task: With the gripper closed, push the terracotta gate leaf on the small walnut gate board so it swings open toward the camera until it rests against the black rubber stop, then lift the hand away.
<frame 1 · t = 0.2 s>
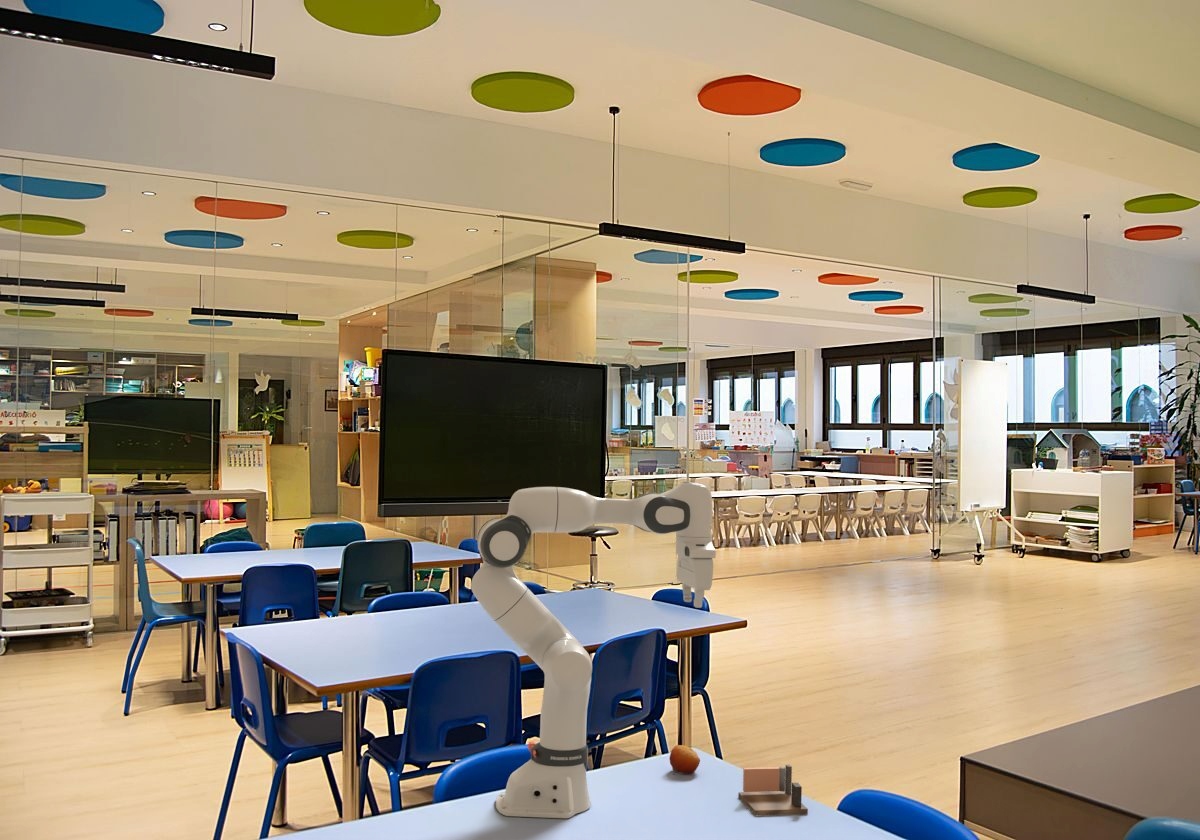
hand: (692, 604, 236), 47 cm above the table, tool pointing down, fingers open, 8 cm apart
fruit: (684, 773, 255), on the table
gate: (764, 779, 236), point 5 cm above the table, hinge at 0.0°
gate frame: (772, 805, 232), on the table
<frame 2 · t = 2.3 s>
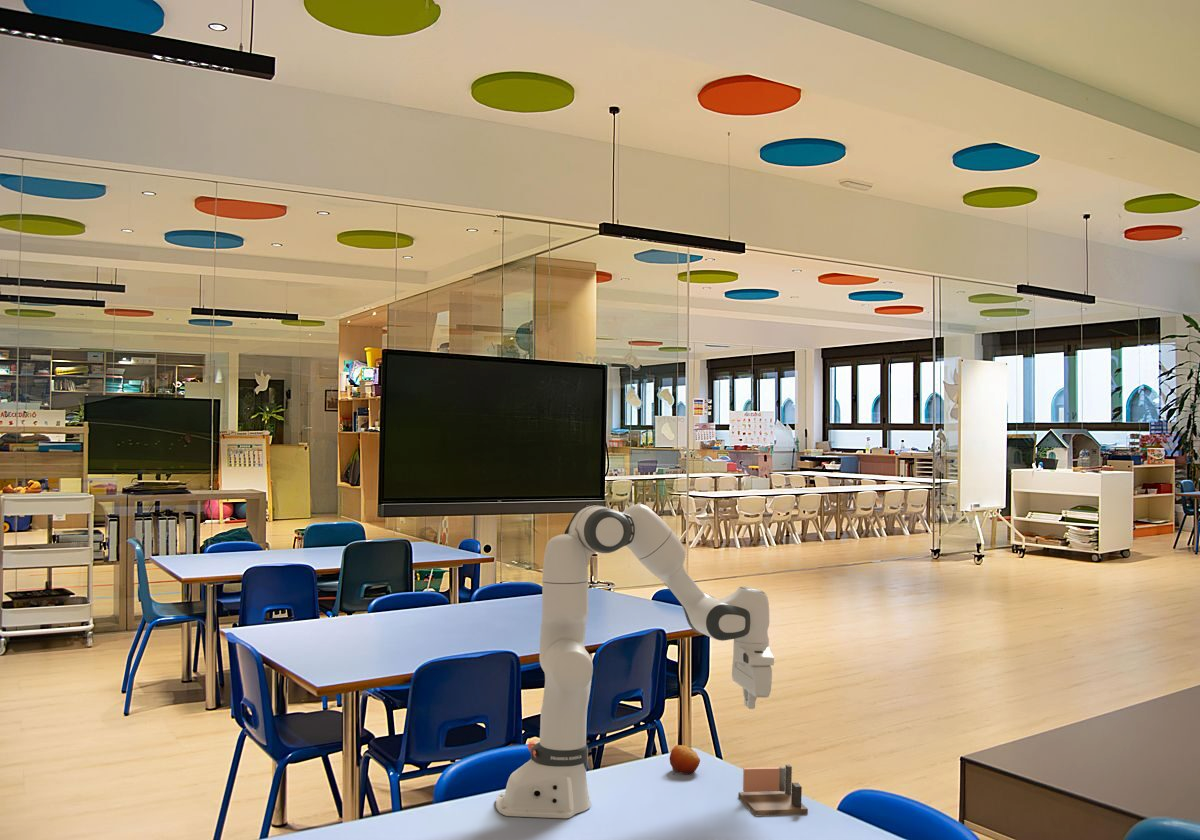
hand: (749, 707, 242), 21 cm above the table, tool pointing down, fingers closed
nothing on the table moved.
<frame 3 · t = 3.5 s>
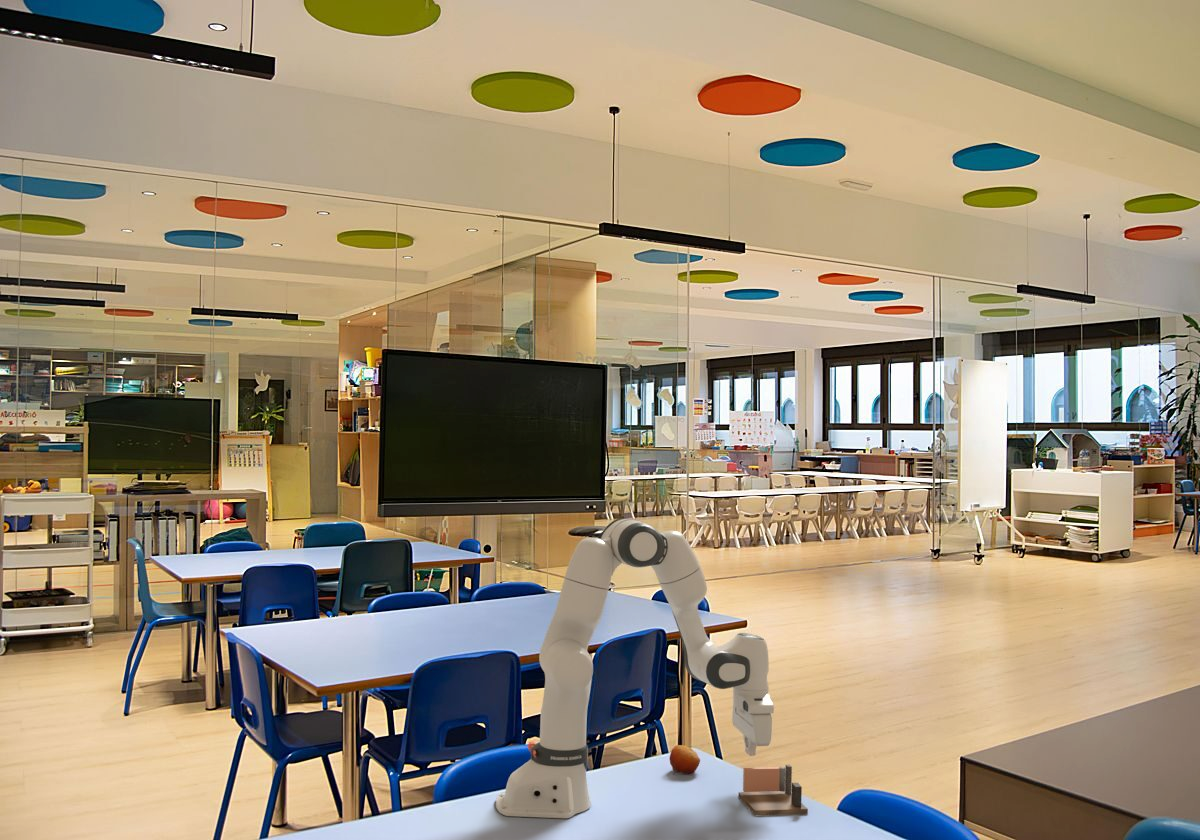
hand: (750, 754, 241), 9 cm above the table, tool pointing down, fingers closed
nothing on the table moved.
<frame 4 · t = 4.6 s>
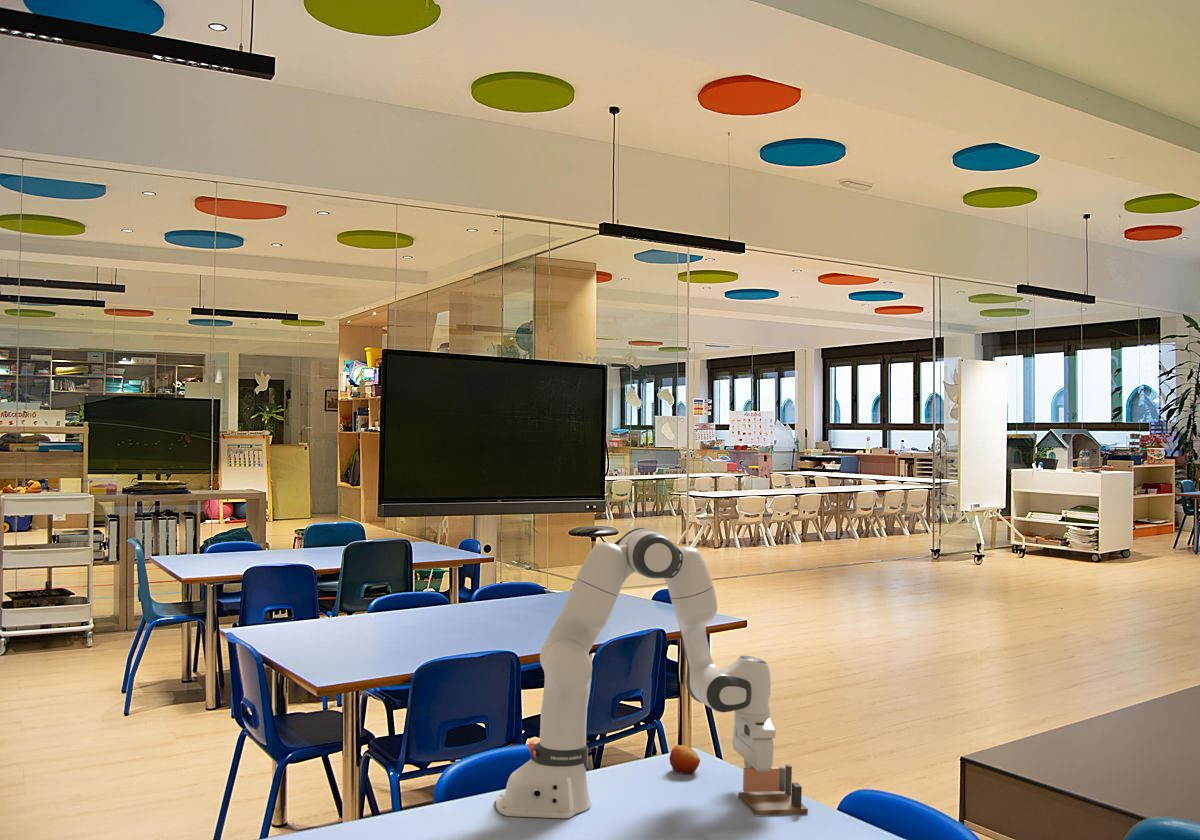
hand: (750, 778, 239), 4 cm above the table, tool pointing down, fingers closed
gate: (764, 779, 236), point 5 cm above the table, hinge at 0.0°, touching gripper
everything else where it was.
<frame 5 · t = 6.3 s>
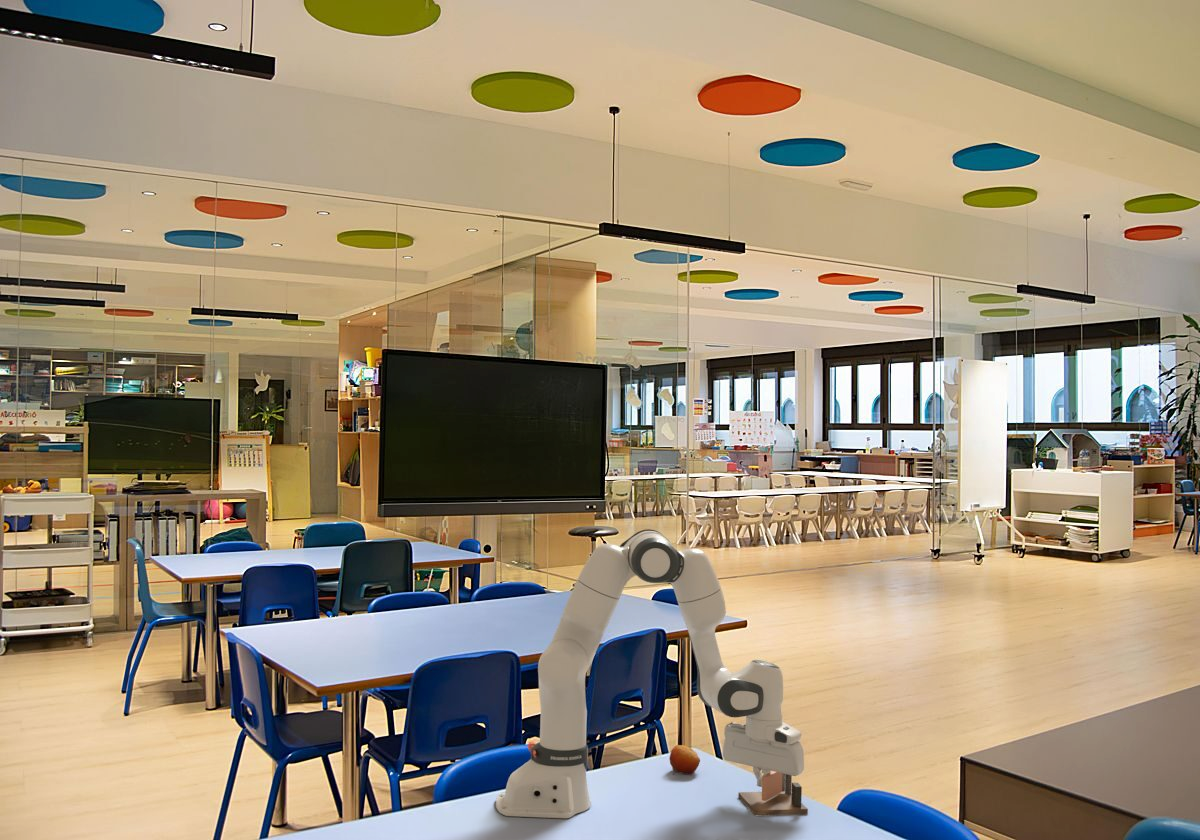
hand: (761, 786, 233), 4 cm above the table, tool pointing down, fingers closed
gate: (773, 783, 234), point 5 cm above the table, hinge at 44.0°, touching gripper
everything else where it was.
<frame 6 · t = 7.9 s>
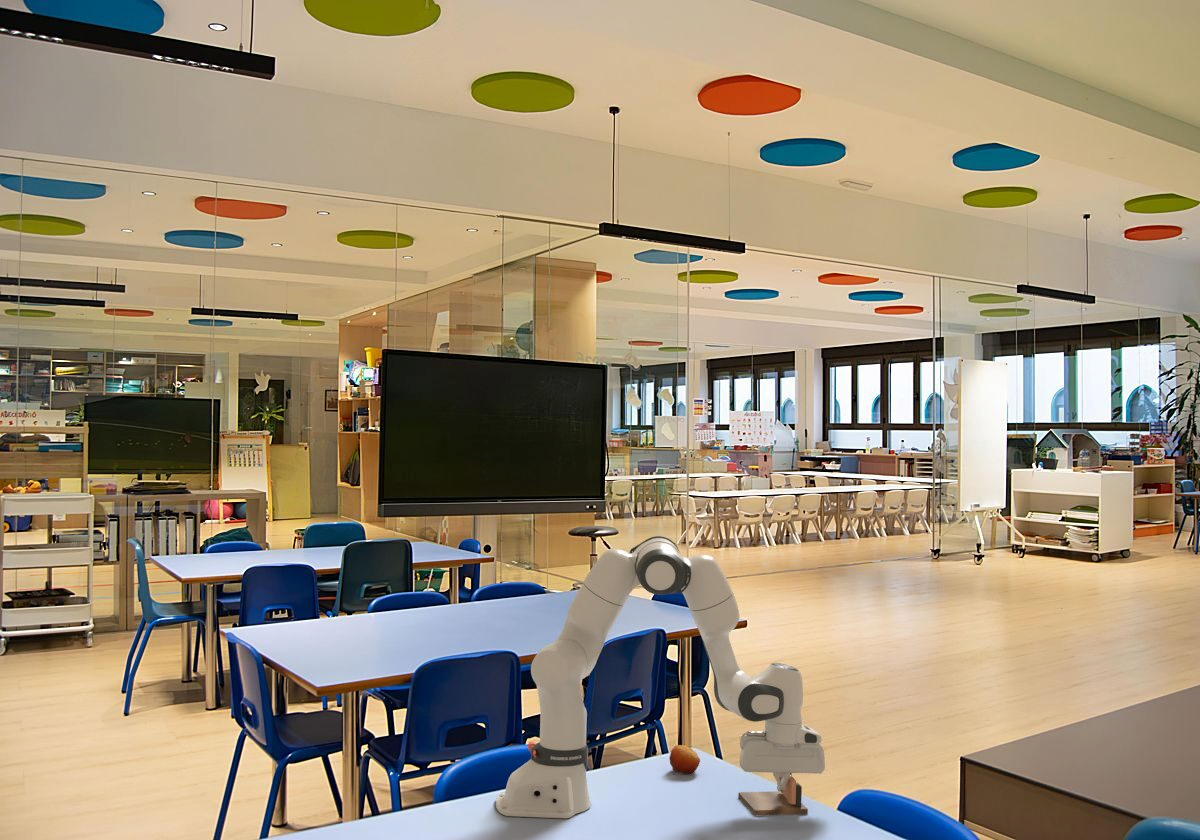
hand: (781, 790, 230), 4 cm above the table, tool pointing down, fingers closed
gate: (787, 785, 233), point 5 cm above the table, hinge at 86.0°, touching gate frame, gripper
everything else where it was.
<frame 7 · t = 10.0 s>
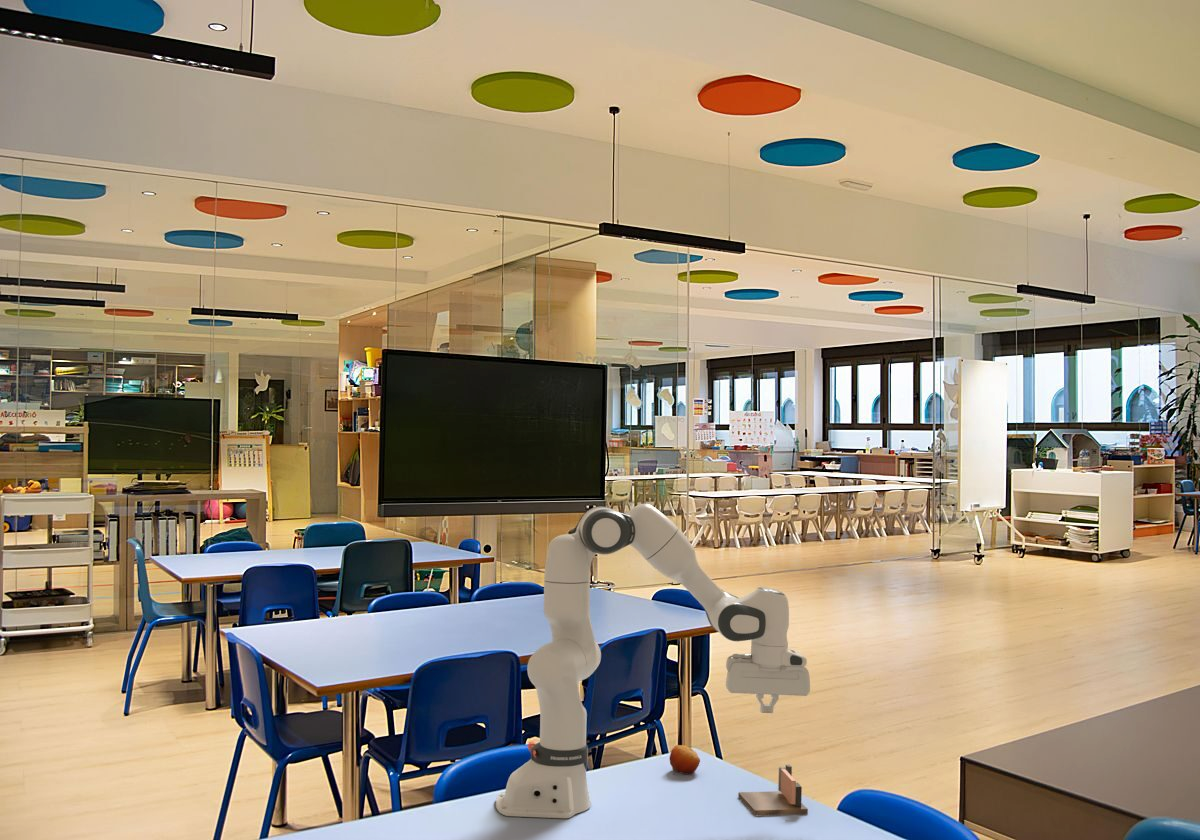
hand: (766, 712, 233), 22 cm above the table, tool pointing down, fingers closed
gate: (787, 785, 233), point 5 cm above the table, hinge at 85.7°
everything else where it was.
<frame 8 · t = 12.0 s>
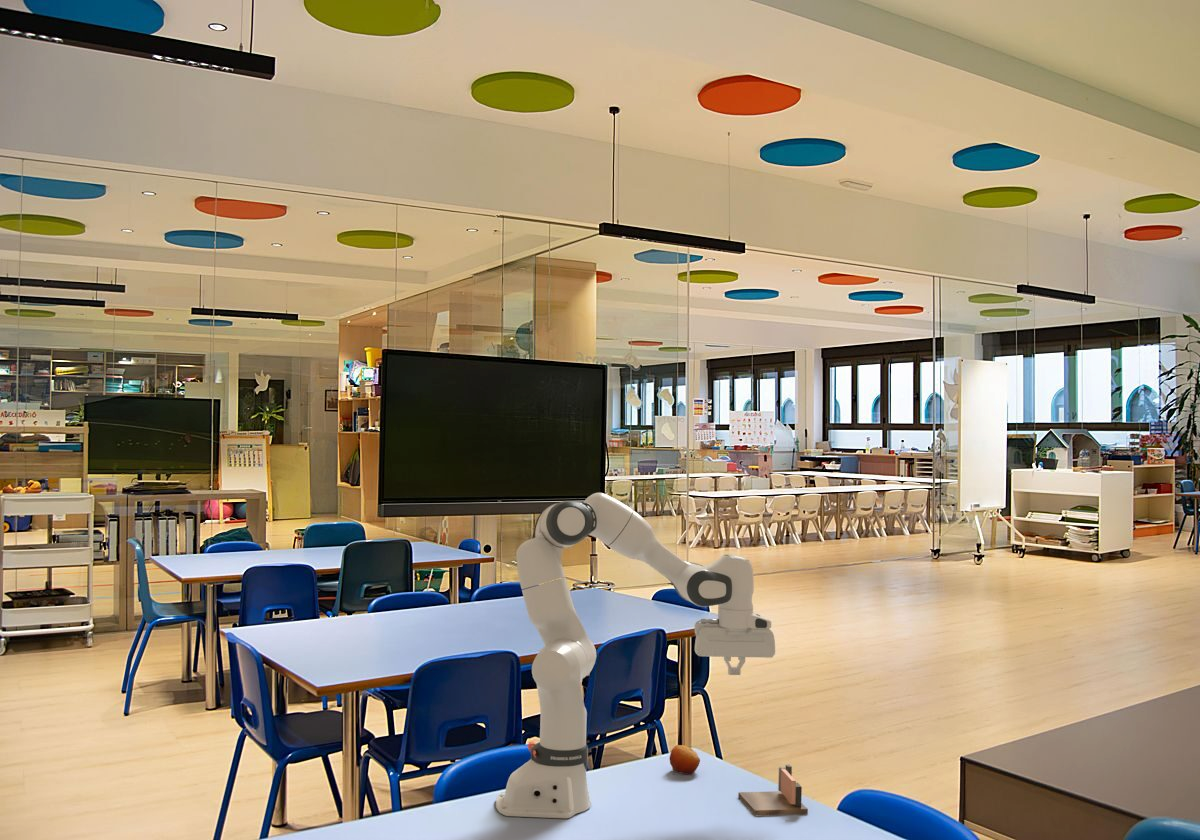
hand: (734, 674, 243), 29 cm above the table, tool pointing down, fingers closed
nothing on the table moved.
at the end: gate at +86° (first picture: +0°); the gripper is holding nothing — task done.
